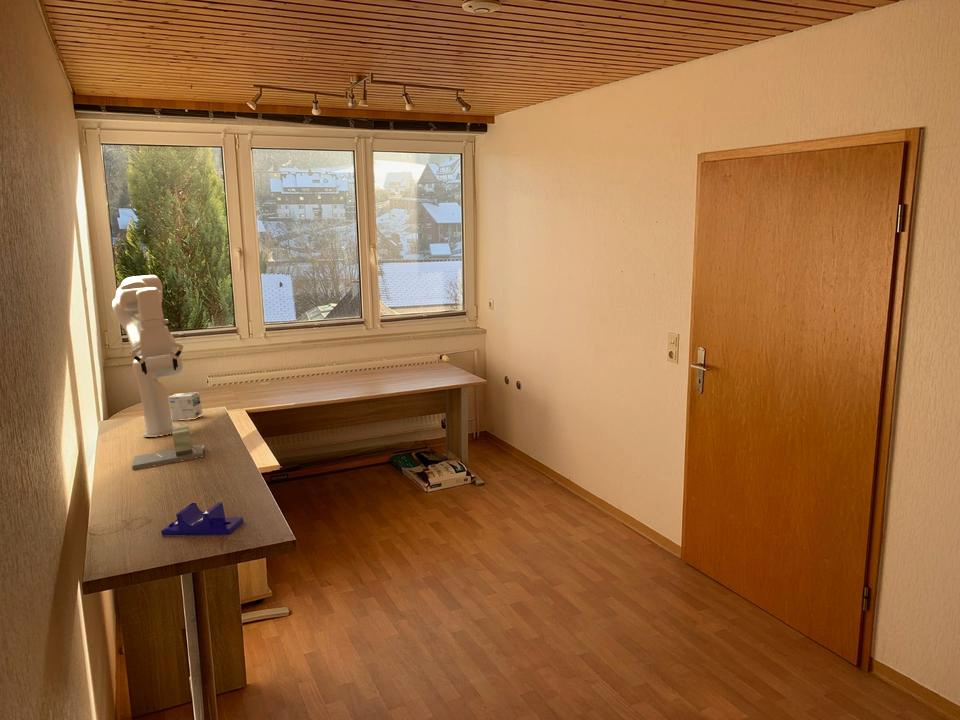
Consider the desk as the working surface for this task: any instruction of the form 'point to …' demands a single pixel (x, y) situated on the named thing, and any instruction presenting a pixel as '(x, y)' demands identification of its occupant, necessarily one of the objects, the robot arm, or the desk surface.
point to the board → (165, 457)
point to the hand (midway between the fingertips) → (160, 371)
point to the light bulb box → (185, 405)
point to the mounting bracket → (202, 522)
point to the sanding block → (182, 440)
